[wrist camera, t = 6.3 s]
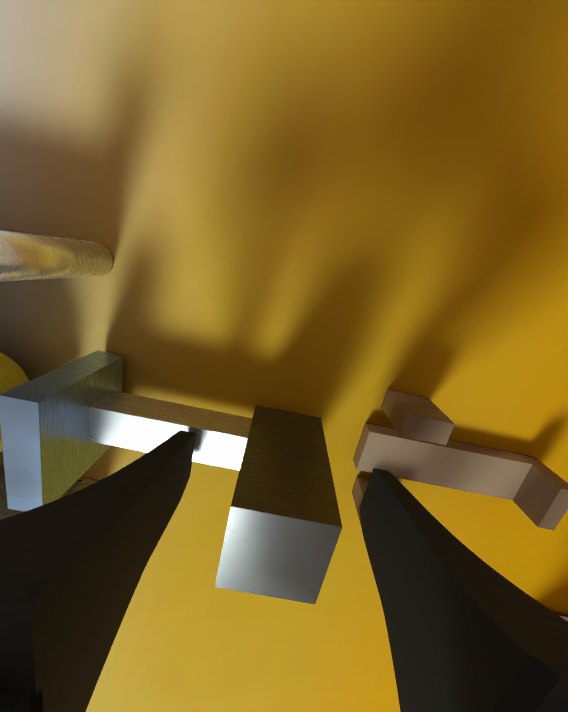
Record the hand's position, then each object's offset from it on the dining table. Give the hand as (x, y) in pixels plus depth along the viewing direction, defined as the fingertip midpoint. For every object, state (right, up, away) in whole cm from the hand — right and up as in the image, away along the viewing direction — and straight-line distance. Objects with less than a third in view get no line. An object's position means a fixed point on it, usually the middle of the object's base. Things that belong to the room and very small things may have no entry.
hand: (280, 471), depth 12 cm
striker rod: (-4, +2, +3) cm, 5 cm away
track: (+8, -1, +4) cm, 9 cm away
